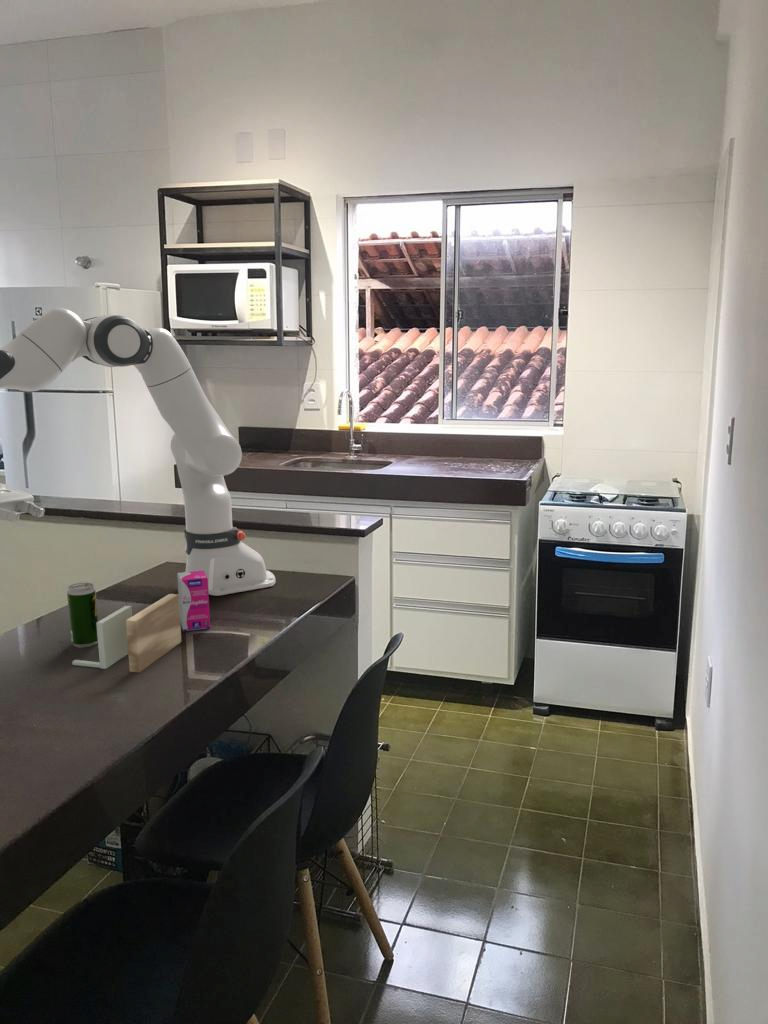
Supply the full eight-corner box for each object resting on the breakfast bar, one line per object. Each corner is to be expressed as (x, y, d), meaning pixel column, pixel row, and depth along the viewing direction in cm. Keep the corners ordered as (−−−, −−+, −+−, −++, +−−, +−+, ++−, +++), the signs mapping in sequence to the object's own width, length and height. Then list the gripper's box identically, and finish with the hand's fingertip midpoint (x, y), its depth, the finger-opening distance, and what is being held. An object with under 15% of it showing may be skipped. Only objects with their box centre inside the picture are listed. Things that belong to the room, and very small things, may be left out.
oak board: (129, 671, 156) (125, 620, 154) (172, 640, 171) (169, 593, 169) (139, 672, 156) (135, 621, 153) (181, 641, 171) (178, 594, 169)
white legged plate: (71, 665, 159) (67, 619, 157) (102, 646, 169) (98, 603, 167) (105, 669, 157) (102, 623, 155) (134, 649, 167) (131, 606, 165)
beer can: (75, 650, 167) (70, 592, 164) (68, 641, 171) (63, 585, 168) (103, 644, 170) (98, 587, 167) (95, 636, 174) (91, 580, 171)
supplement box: (182, 632, 176) (179, 579, 173) (179, 623, 181) (176, 572, 179) (210, 629, 178) (208, 577, 175) (206, 620, 183) (204, 569, 181)
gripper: (-64, 482, 157) (5, 504, 156) (-3, 477, 177) (58, 496, 176) (-71, 515, 157) (-3, 537, 157) (-10, 505, 178) (51, 525, 177)
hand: (30, 515), depth 166 cm, fingers open, 8 cm apart
